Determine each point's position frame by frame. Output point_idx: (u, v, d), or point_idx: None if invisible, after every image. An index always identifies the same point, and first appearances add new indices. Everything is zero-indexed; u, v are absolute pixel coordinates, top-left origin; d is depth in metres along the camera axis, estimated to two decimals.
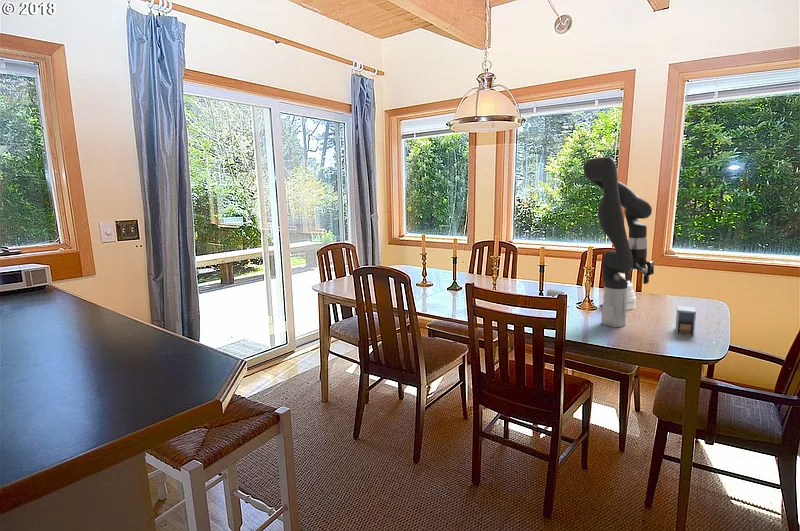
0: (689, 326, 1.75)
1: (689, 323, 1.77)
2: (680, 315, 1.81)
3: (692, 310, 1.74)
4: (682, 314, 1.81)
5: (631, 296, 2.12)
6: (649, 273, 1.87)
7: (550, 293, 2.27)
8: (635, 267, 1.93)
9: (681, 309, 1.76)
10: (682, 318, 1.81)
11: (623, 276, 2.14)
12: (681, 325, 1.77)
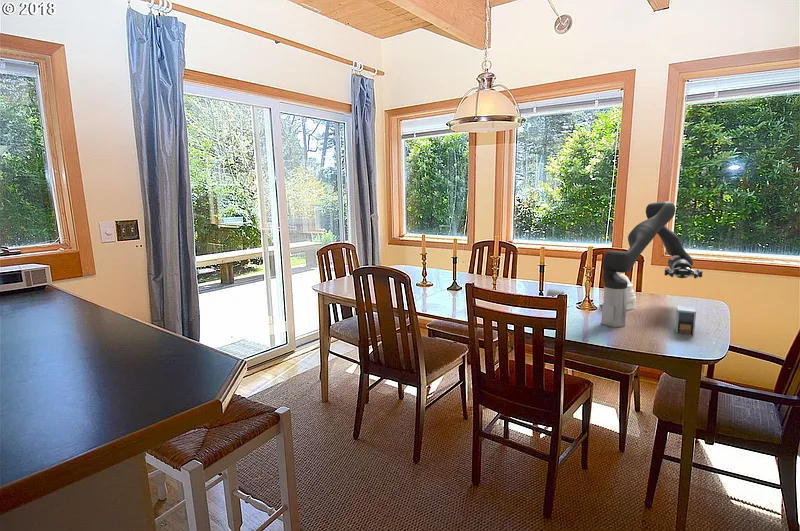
0: (689, 326, 1.75)
1: (689, 323, 1.77)
2: (680, 315, 1.81)
3: (692, 310, 1.74)
4: (682, 314, 1.81)
5: (631, 296, 2.12)
6: None
7: (550, 293, 2.27)
8: (683, 270, 1.93)
9: (681, 309, 1.76)
10: (682, 318, 1.81)
11: (623, 276, 2.14)
12: (681, 325, 1.77)
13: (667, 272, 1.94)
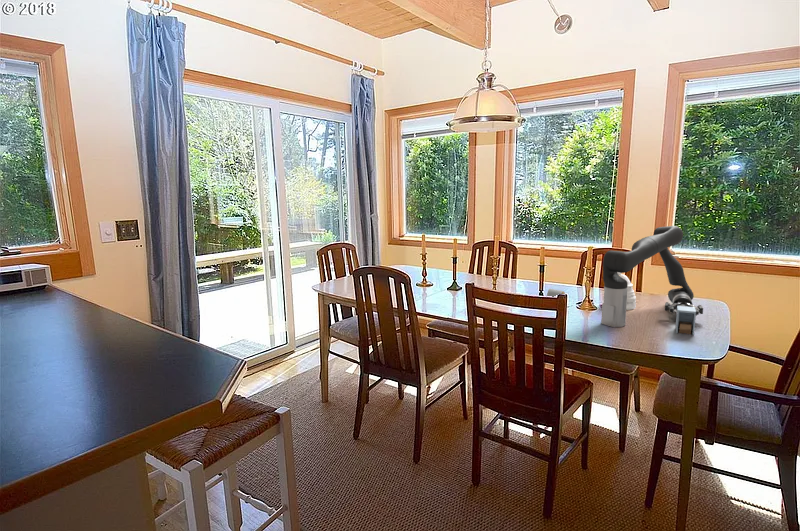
0: (689, 326, 1.75)
1: (689, 323, 1.77)
2: (680, 315, 1.81)
3: (692, 310, 1.74)
4: (682, 314, 1.81)
5: (631, 296, 2.12)
6: (702, 308, 1.86)
7: (551, 293, 2.27)
8: (683, 305, 1.91)
9: (681, 309, 1.76)
10: (682, 318, 1.81)
11: (623, 276, 2.14)
12: (681, 325, 1.77)
13: (667, 307, 1.92)
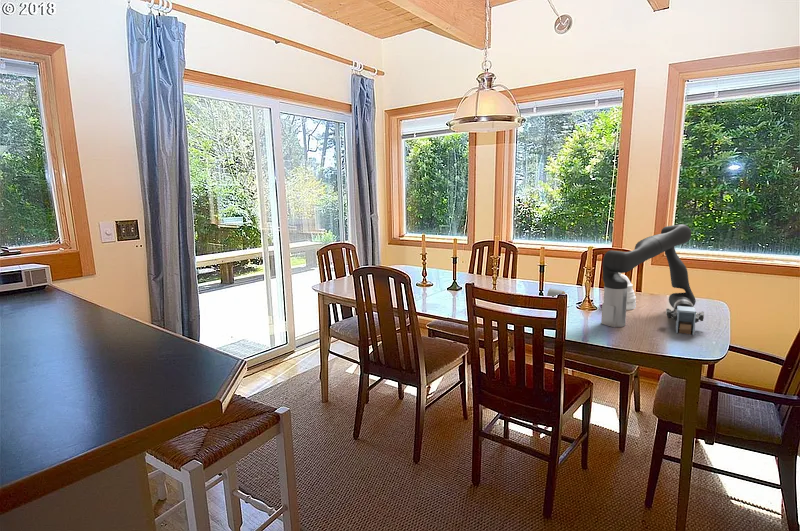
0: (689, 326, 1.75)
1: (689, 323, 1.77)
2: (680, 315, 1.81)
3: (692, 310, 1.74)
4: (682, 314, 1.81)
5: (631, 296, 2.12)
6: (702, 314, 1.77)
7: (551, 292, 2.28)
8: None
9: (681, 309, 1.76)
10: (682, 318, 1.81)
11: (623, 276, 2.14)
12: (681, 325, 1.77)
13: (671, 314, 1.82)
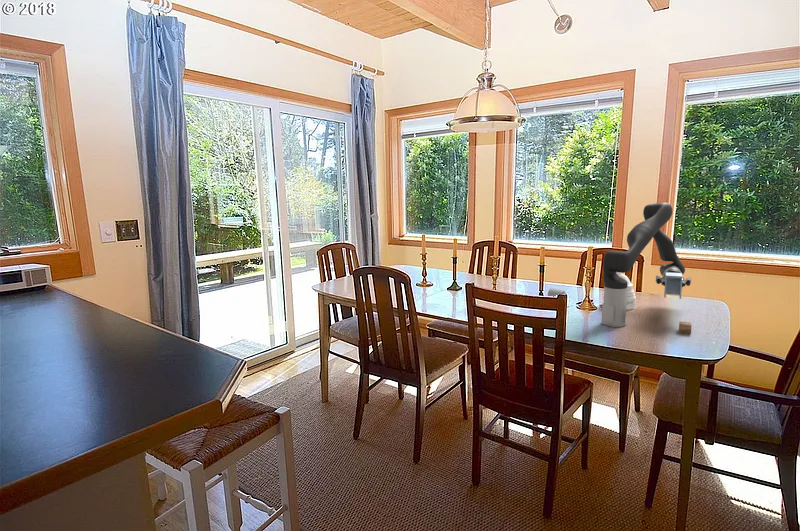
0: (689, 326, 1.75)
1: (689, 323, 1.77)
2: (668, 281, 1.92)
3: (679, 275, 1.85)
4: (670, 280, 1.91)
5: (631, 296, 2.12)
6: (689, 280, 1.88)
7: (551, 292, 2.28)
8: None
9: (669, 275, 1.87)
10: (670, 284, 1.92)
11: (623, 276, 2.14)
12: (681, 325, 1.77)
13: (659, 280, 1.93)
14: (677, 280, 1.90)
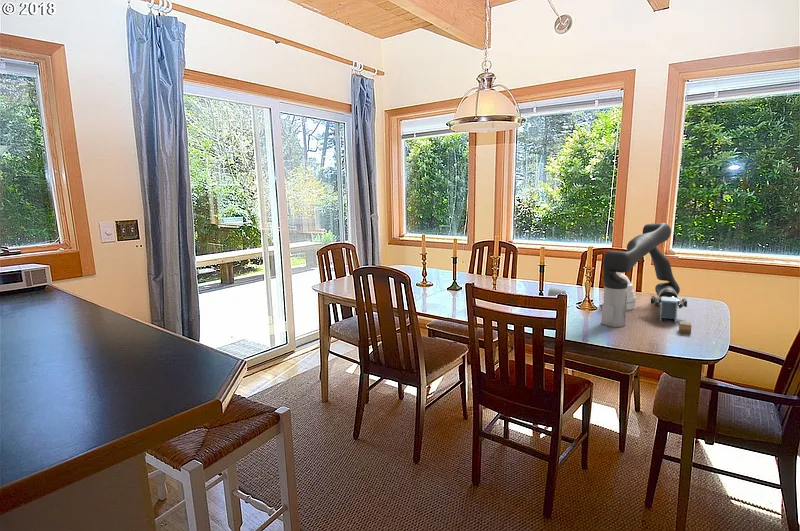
0: (689, 326, 1.75)
1: (689, 323, 1.77)
2: (664, 305, 1.96)
3: (674, 300, 1.90)
4: (666, 304, 1.96)
5: (631, 296, 2.12)
6: (686, 301, 1.92)
7: (552, 292, 2.29)
8: None
9: (664, 299, 1.92)
10: (666, 308, 1.96)
11: (623, 276, 2.14)
12: (681, 325, 1.77)
13: (653, 301, 1.98)
14: (672, 304, 1.95)
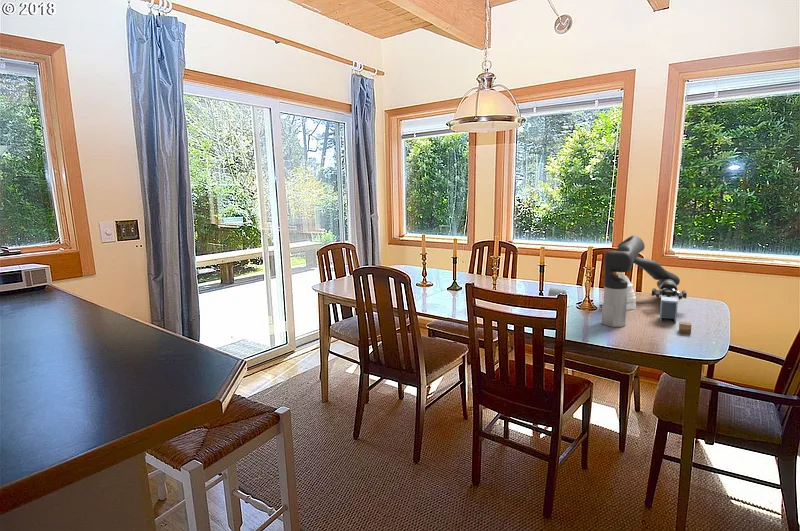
0: (689, 326, 1.75)
1: (689, 323, 1.77)
2: (664, 305, 1.96)
3: (674, 300, 1.90)
4: (666, 304, 1.96)
5: (631, 296, 2.12)
6: (685, 293, 2.01)
7: (552, 292, 2.29)
8: (669, 291, 2.06)
9: (664, 299, 1.92)
10: (666, 308, 1.96)
11: (623, 276, 2.14)
12: (681, 325, 1.77)
13: (654, 293, 2.07)
14: (672, 304, 1.95)
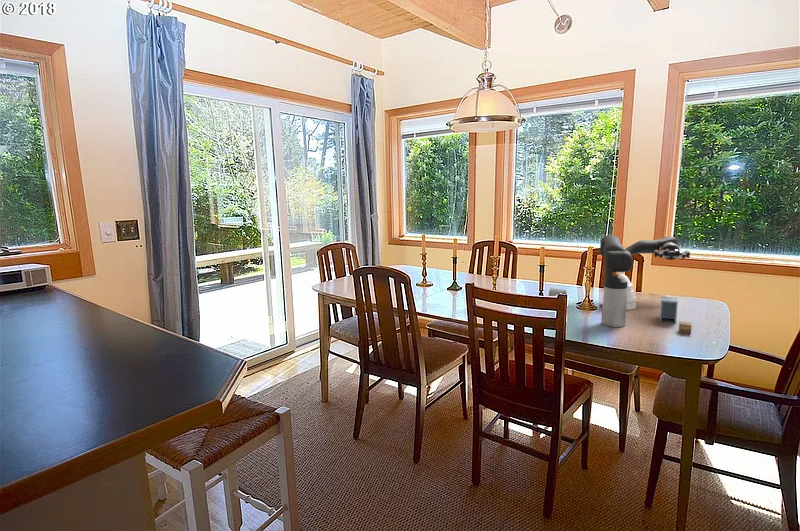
0: (689, 326, 1.75)
1: (689, 323, 1.77)
2: (664, 305, 1.96)
3: (674, 300, 1.90)
4: (666, 304, 1.96)
5: (631, 296, 2.12)
6: (689, 252, 1.99)
7: (552, 291, 2.30)
8: (671, 251, 2.03)
9: (664, 299, 1.92)
10: (666, 308, 1.96)
11: (623, 276, 2.14)
12: (681, 325, 1.77)
13: (657, 253, 2.04)
14: (672, 304, 1.95)
